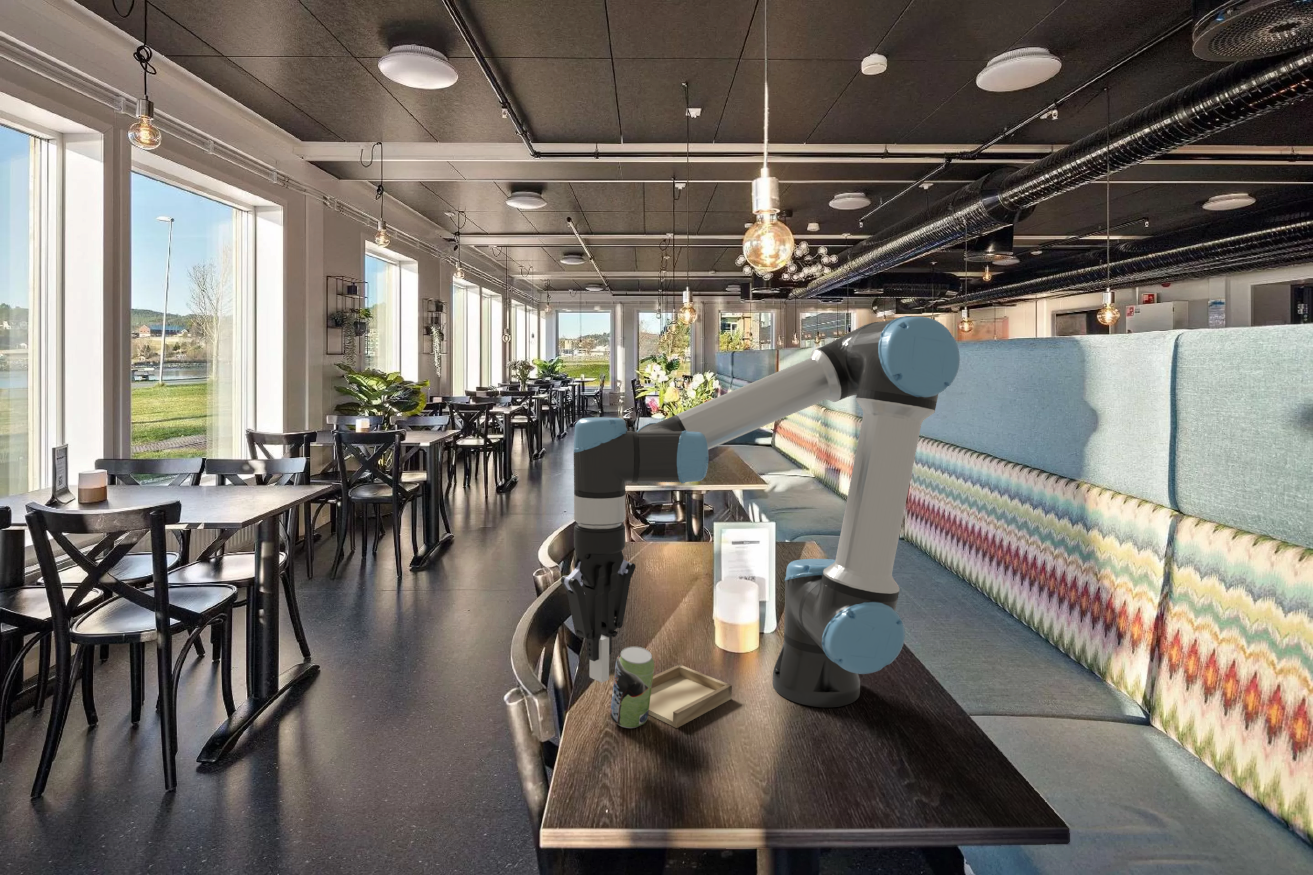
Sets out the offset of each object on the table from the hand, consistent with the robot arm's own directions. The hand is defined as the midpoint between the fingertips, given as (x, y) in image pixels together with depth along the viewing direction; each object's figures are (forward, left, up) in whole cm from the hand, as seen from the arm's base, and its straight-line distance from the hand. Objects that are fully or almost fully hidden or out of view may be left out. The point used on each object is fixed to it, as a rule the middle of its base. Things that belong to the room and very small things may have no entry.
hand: (599, 678), depth 103 cm
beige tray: (0, -18, -10) cm, 20 cm away
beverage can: (0, -7, -10) cm, 12 cm away
